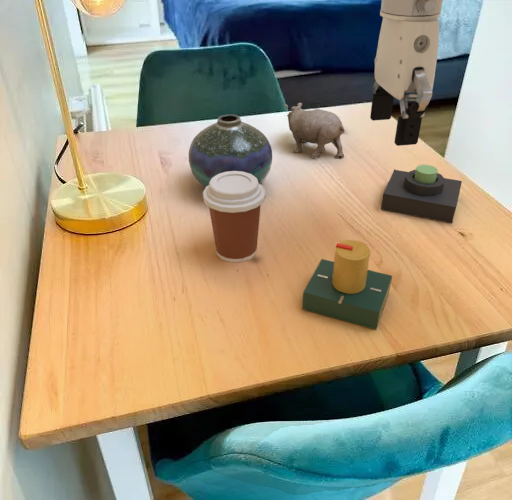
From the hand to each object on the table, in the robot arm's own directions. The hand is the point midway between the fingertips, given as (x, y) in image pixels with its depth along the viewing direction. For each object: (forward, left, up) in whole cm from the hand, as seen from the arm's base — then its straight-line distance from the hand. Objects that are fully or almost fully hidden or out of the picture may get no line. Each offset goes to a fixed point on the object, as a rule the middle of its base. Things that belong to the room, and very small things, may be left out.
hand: (392, 131), depth 74 cm
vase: (+29, -4, -17) cm, 34 cm away
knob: (0, +20, -14) cm, 24 cm away
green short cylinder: (-5, -11, -12) cm, 17 cm away
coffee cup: (+19, +15, -17) cm, 29 cm away
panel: (0, +20, -17) cm, 26 cm away
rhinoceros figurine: (+21, -26, -17) cm, 37 cm away
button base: (-5, -11, -17) cm, 21 cm away
